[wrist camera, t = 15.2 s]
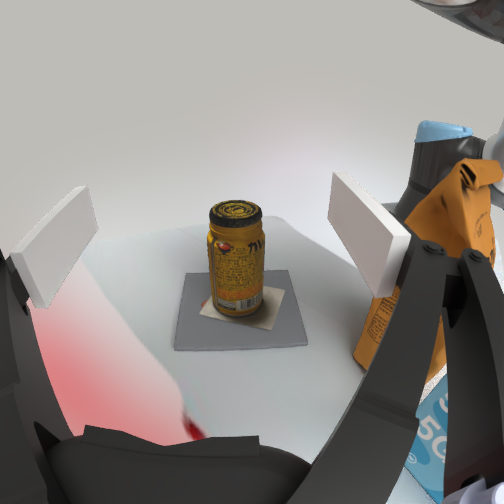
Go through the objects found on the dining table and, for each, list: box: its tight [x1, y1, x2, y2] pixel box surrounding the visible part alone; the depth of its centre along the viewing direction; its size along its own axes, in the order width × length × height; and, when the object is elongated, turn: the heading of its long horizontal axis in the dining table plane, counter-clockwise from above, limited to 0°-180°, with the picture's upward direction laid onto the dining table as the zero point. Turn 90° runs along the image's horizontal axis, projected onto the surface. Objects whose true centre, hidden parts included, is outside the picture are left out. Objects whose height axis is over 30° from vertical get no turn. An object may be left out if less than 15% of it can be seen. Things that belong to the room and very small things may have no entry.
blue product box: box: [404, 374, 448, 504], centre depth 12 cm, size 12×4×12 cm, turn 26°
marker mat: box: [174, 270, 308, 351], centre depth 34 cm, size 14×13×1 cm
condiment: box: [199, 200, 285, 330], centre depth 31 cm, size 7×8×12 cm
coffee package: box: [353, 158, 504, 384], centre depth 22 cm, size 10×12×22 cm
